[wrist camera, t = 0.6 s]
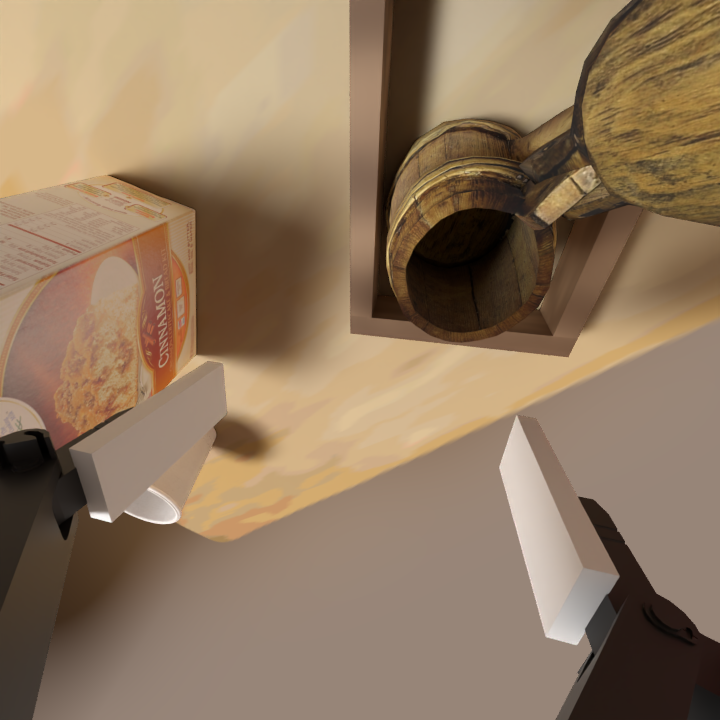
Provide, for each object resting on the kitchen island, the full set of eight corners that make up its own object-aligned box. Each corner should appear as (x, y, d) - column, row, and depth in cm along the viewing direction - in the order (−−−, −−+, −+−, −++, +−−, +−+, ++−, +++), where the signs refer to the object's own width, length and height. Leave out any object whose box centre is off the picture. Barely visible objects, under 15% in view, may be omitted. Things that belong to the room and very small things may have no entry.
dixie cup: (186, 450, 45) (135, 523, 37) (148, 406, 40) (80, 479, 33) (238, 448, 42) (195, 526, 35) (203, 401, 38) (144, 478, 30)
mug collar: (364, -87, 15) (349, -130, 12) (747, -107, 13) (831, -163, 10) (358, 310, 27) (350, 333, 24) (553, 329, 25) (568, 357, 22)
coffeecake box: (198, 356, 34) (5, 566, 18) (129, 331, 33) (-128, 526, 18) (200, 208, 24) (-190, 387, 9) (104, 170, 24) (-477, 292, 9)
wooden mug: (647, 118, 17) (1573, 193, 3) (453, 297, 25) (479, 545, 11) (534, -27, 15) (1984, -1862, 1) (359, 218, 23) (242, 406, 9)
